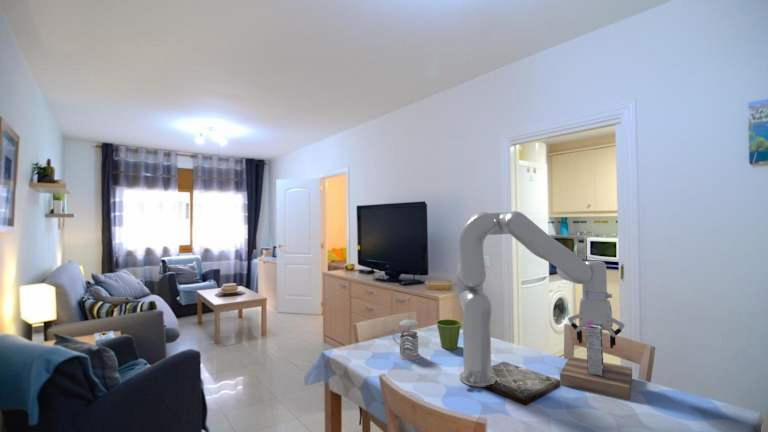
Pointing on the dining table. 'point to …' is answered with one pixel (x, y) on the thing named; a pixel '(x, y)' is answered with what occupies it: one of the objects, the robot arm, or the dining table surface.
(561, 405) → the dining table surface
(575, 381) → the walnut stand
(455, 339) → the plant pot
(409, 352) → the french press
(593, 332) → the candy bar box
